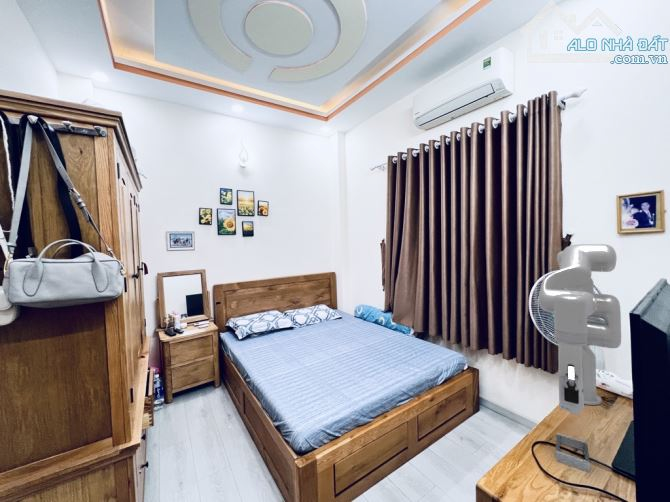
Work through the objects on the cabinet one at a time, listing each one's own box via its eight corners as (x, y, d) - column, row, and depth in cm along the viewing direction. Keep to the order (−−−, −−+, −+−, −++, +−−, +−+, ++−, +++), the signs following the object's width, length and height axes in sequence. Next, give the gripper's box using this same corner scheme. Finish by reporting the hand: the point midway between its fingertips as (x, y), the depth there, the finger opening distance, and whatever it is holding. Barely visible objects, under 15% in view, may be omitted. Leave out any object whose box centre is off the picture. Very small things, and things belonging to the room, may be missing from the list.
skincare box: (577, 415, 81) (576, 373, 81) (558, 408, 85) (557, 368, 84) (584, 408, 84) (584, 367, 84) (566, 401, 88) (565, 362, 88)
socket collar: (556, 440, 91) (556, 432, 91) (587, 450, 87) (587, 442, 86) (555, 460, 83) (555, 451, 83) (589, 472, 78) (589, 463, 78)
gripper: (555, 327, 93) (555, 381, 94) (553, 342, 80) (554, 405, 80) (585, 331, 89) (586, 388, 89) (589, 347, 75) (590, 414, 75)
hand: (571, 395), depth 84 cm, fingers closed on skincare box, 6 cm apart
